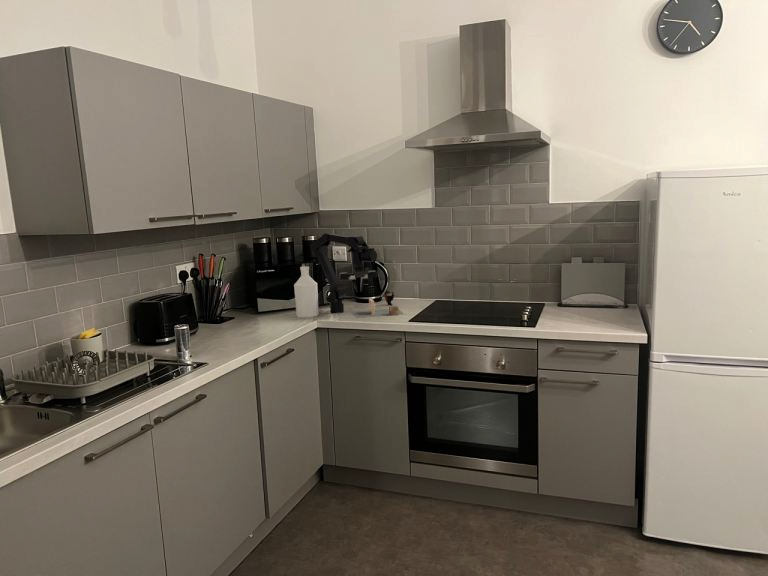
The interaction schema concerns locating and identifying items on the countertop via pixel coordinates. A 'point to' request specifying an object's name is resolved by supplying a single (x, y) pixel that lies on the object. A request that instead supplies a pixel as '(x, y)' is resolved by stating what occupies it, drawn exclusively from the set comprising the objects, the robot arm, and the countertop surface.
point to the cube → (393, 310)
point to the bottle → (306, 295)
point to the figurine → (389, 297)
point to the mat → (377, 313)
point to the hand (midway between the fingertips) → (359, 291)
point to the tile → (371, 306)
